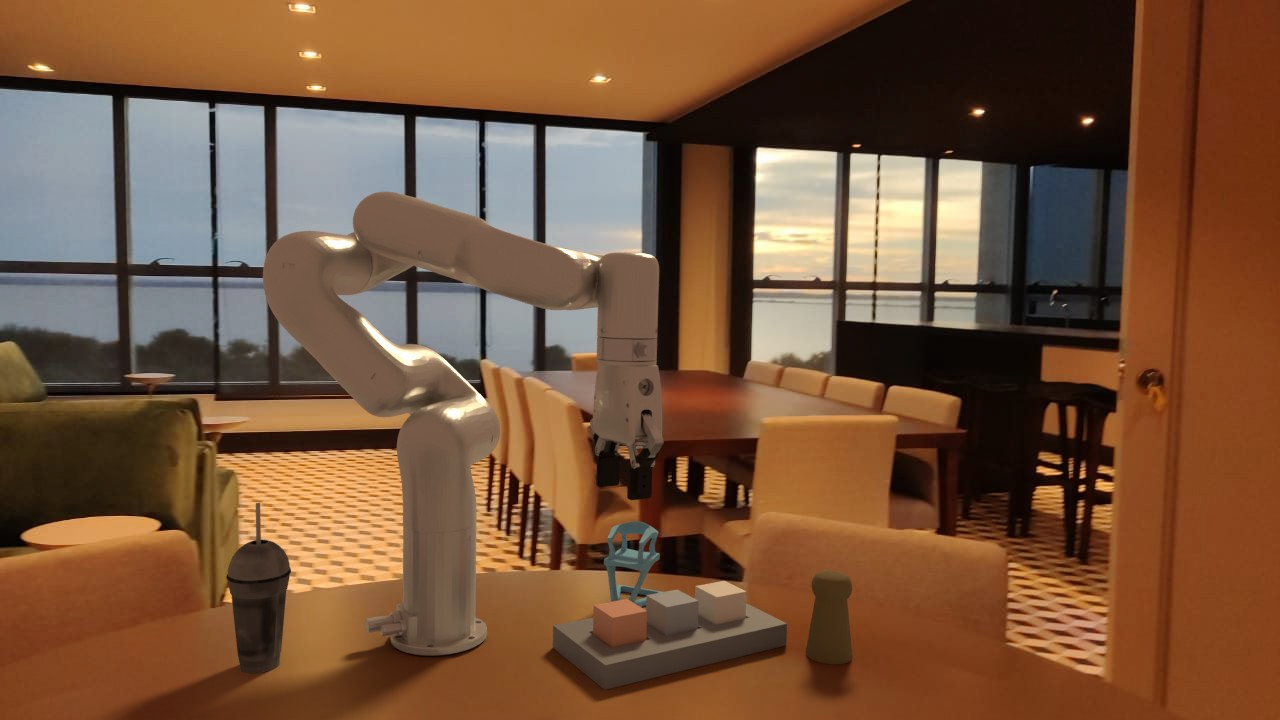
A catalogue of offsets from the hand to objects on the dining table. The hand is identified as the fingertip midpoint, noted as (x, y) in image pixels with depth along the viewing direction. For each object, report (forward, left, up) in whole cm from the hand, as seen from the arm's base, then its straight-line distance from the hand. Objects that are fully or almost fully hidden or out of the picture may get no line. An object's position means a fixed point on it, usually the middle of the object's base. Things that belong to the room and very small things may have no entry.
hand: (623, 491), depth 111 cm
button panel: (+8, 0, -22) cm, 23 cm away
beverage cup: (-40, +19, -22) cm, 49 cm away
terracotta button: (0, 0, -19) cm, 19 cm away
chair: (+12, +17, -22) cm, 30 cm away
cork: (+25, -12, -22) cm, 35 cm away
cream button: (+16, 0, -19) cm, 25 cm away
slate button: (+8, 0, -19) cm, 21 cm away
